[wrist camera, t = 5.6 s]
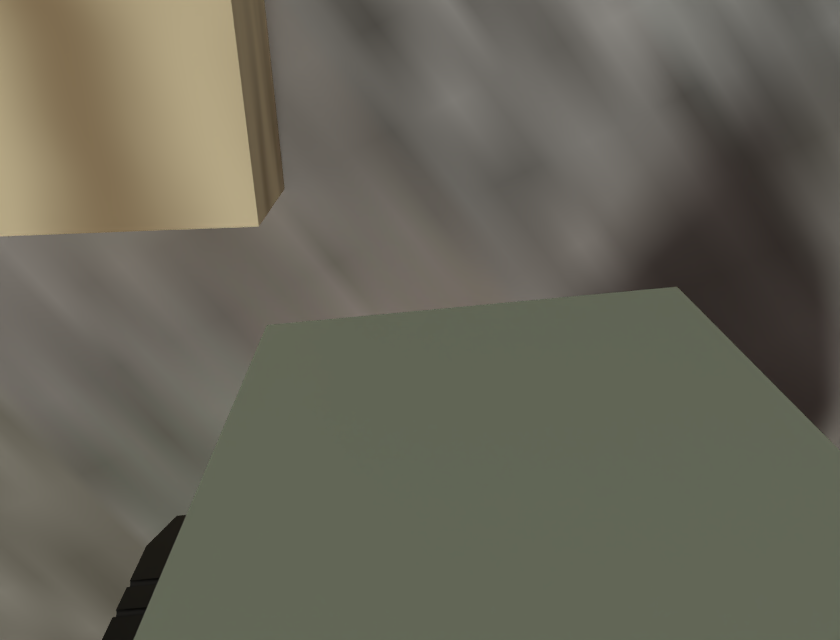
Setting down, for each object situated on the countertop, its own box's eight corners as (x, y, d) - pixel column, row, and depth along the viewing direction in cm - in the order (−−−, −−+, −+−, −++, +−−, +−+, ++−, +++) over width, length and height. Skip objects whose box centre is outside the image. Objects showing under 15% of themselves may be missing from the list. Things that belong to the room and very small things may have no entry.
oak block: (257, -72, 23) (219, -93, 18) (285, 187, 26) (258, 226, 21) (-4, -62, 23) (-110, -80, 18) (54, 196, 26) (-22, 237, 21)
